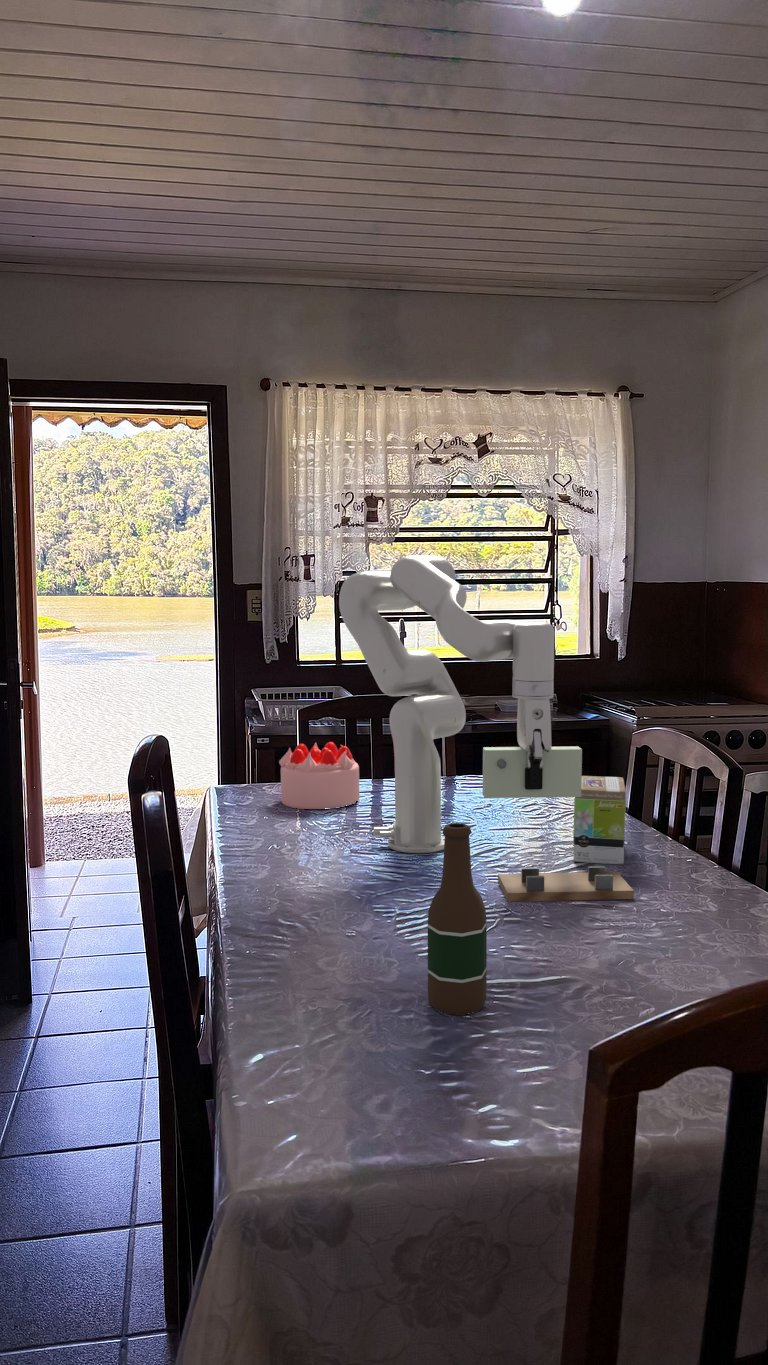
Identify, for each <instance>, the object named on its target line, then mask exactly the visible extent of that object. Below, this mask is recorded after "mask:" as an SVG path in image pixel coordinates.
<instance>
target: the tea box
mask: <svg viewBox="0 0 768 1365" xmlns="http://www.w3.org/2000/svg"><path fill="white" fill-rule="evenodd" d="M573 800H574V801H573V803H574V804H573V835H572V836H573V837H572V838H573V846H572V847H573V850H572V851H573V861H574V862H576V863H587V864H609V865H623V864H624V862H625V834H626V831H625V829H626V807H627V806H626V805H627V803H626V802H627V791H626V785H625V780H624V777H620V776H596V775H594V776H593V775H582V779H581V797H573Z"/></svg>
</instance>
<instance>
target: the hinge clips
mask: <svg viewBox="0 0 768 1365" xmlns="http://www.w3.org/2000/svg"><path fill="white" fill-rule="evenodd" d="M520 869H521V870H520V871H521V872H520V874H521V882H522V883H526V891H527V892H530V891H544V876H539V873H540V869H539V867H537V866H535V867H521V868H520ZM606 869H607V867H606V866H605V865H604V866H601V865H598V866H595V865H593V866H592V865H591V866H587V872H588V881H595V890H613V875H606V872H607V870H606Z"/></svg>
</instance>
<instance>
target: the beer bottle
mask: <svg viewBox="0 0 768 1365" xmlns="http://www.w3.org/2000/svg"><path fill="white" fill-rule="evenodd" d="M472 833H473V832H472V829H471V826H470V825H468V824H465V823H462V822H453V823H448V824H445V826H443V830H442V832H441V835H442V836H444V837H445V842H444V849H443V861H442V862H443V863H442V877H441V883H440V887H439V888H438V890H437V891H436V893H435V895H434V896H433V897H432V900H431V902H430V904H429V905H430V906H429V909H428V912H427V914H428V915H427V994H428V995H427V997H428V1004H429V1005H430V1006H431V1007H432V1006H433V1007H434V1009H435V1010H436V1009H437V1010H438V1011H437V1010H436V1011H437V1012H439V1011H440V1012H442V1013H441V1014H444V1013H449V1014H448V1015H452V1014H457V1015H456V1016H459V1015H463V1016H465V1015H464V1014H467V1015H469V1014H468V1013H471V1014H473V1013H472V1012H475V1013H478V1012H477V1011H479V1012H481V1010H482V1007H483V1006H484V1004H485V1002H486V1000H487V986H488V985H487V981H488V980H487V977H488V976H487V975H488V974H487V963H488V962H487V958H488V956H487V954H488V953H487V951H488V950H487V948H488V946H487V944H488V942H487V939H488V938H487V935H488V934H487V933H488V931H487V929H488V926H487V924H488V922H487V911H486V910H487V909H486V906H485V903H484V900H483V898H482V897H483V896H482V895H481V894H480V893H479V891H478V890H477V889H476V887H475V885H474V881H473V880H474V878H473V874H472V863H471V862H472V861H471V847H470V846H471V845H470V835H471V834H472ZM433 1007H432V1008H433ZM440 1012H439V1013H440Z"/></svg>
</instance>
